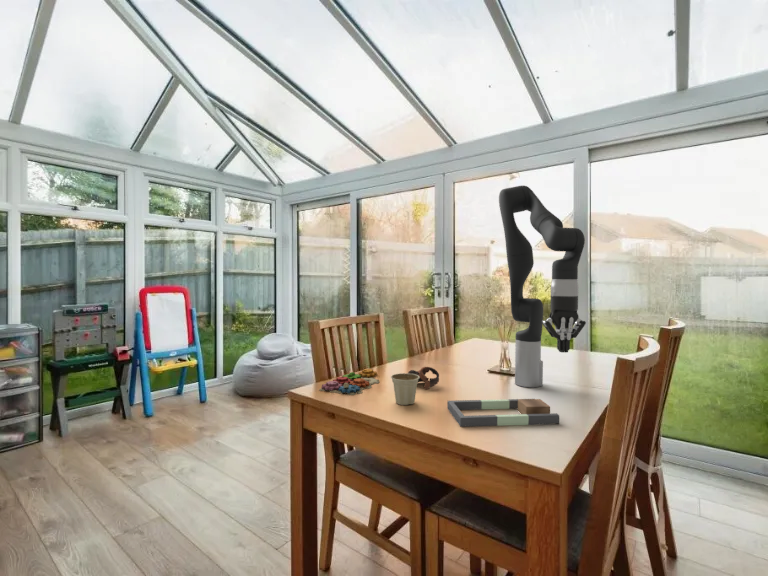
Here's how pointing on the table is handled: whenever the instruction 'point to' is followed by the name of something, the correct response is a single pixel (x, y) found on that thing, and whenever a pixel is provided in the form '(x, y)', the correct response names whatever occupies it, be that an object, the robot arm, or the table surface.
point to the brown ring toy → (423, 378)
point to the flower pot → (405, 387)
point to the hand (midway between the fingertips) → (563, 351)
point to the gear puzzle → (351, 383)
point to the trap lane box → (495, 419)
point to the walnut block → (533, 406)
